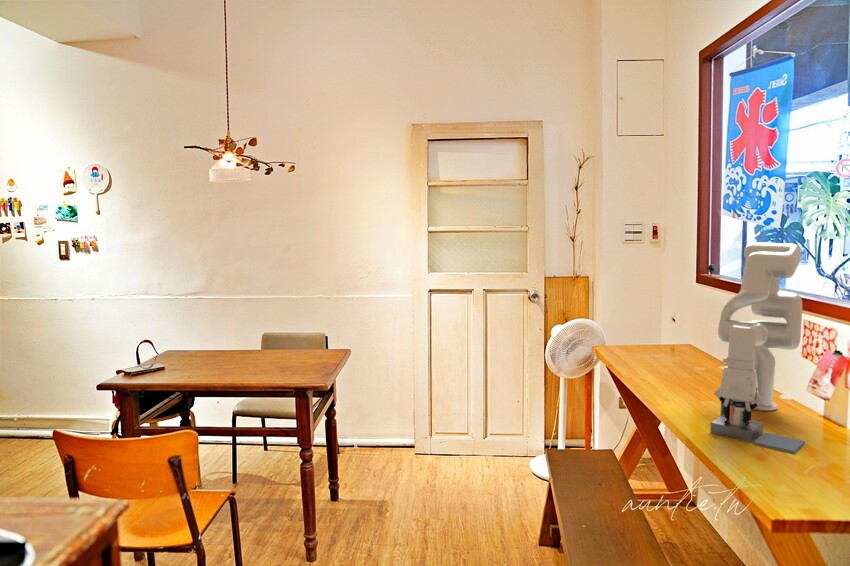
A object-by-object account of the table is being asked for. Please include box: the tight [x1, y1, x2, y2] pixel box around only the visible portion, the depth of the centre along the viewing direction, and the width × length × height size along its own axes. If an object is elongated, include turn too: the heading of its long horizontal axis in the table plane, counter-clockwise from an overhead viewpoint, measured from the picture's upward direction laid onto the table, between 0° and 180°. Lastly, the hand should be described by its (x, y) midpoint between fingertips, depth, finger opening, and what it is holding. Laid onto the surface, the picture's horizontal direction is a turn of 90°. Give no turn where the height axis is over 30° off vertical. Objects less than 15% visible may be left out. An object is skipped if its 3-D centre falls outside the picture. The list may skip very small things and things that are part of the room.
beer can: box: [729, 399, 746, 427], centre depth 198 cm, size 5×5×12 cm
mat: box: [753, 432, 806, 455], centre depth 190 cm, size 12×11×1 cm
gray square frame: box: [709, 414, 764, 443], centre depth 199 cm, size 12×12×4 cm
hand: (737, 419), depth 199 cm, fingers closed on beer can, 4 cm apart
